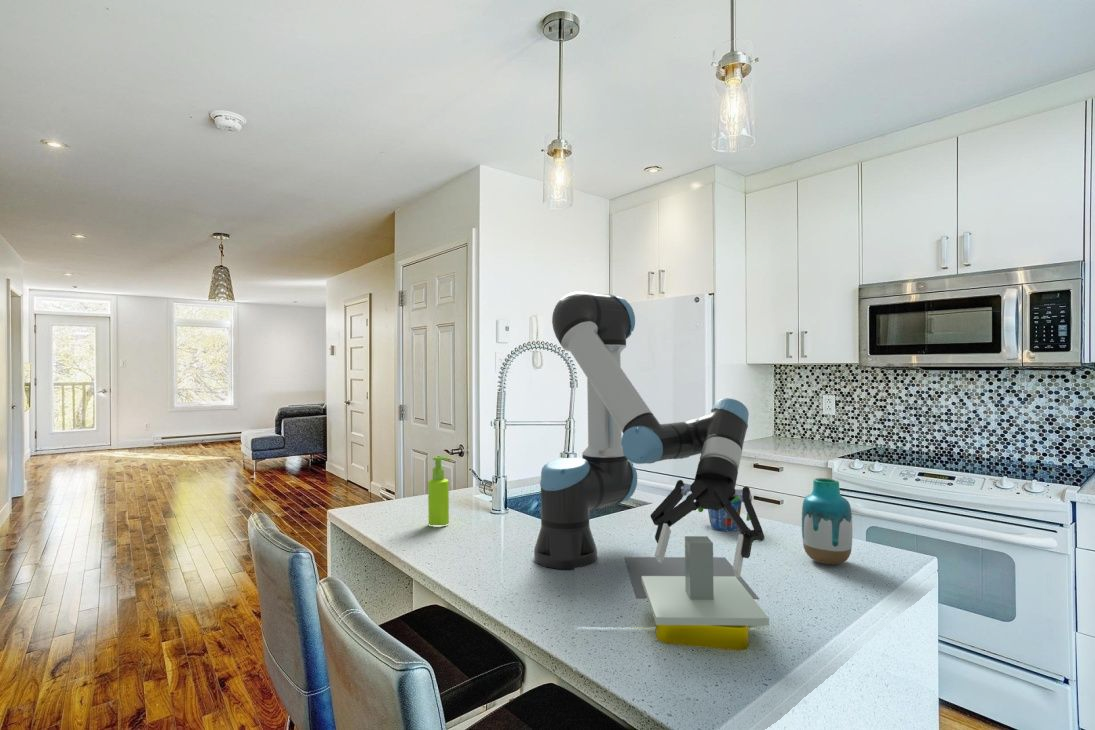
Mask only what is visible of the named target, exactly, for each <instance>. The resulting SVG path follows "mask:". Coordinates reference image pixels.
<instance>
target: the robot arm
mask: <svg viewBox="0 0 1095 730" xmlns="http://www.w3.org/2000/svg"><path fill="white" fill-rule="evenodd" d="M551 324H552V329H553V332H554V333H553V334H554V335H555V338H556V339H557V341H558V343H559V344H560V346H561V348H562V350H563V349H564V351H566V352H570V353H571V355H572V356H573V359H575V361H576V362H577V364H578V365H579V367H580V369H581V370H582V372H583V374H584V375H585V377H586V378H587V379H586V381H587V382H586V383H587V385H586V387H587V392H586V393H587V445H588V446H587V447H586V448H585V449H584V450H583V451H582V456H581V457H567V458H564V457H563V458H559V459H555V460H552V461H549V462H547V463H546V464H544V465H543V466H542V468H541V471H540V481H539V486H540V522H541V523H540V524H541V525H540V530H539V533H538V536H537V539H536V543H535V546H534V550H533V553H534V555H533V557H534V559H535V560H534V559H533V560H534V562H535V563H537V565H538V564H539V565H540V566H543V567H545V568H551V569H558V570H575V569H576V568H583V567H588V566H589V565H593V564H594V563H595V562H596V561H597V560H598V549H597V546H596V545H597V544H596V543H595V539H594V537H593V534H592V533H593V532H592V530H591V525H590V511H592V510H596V509H601V508H605V507H609V506H611V507H612V506H617V505H619V504H621V503H625V502H627V501H629V499H630V498H631V497H632V496H633V495H634V493H635V491H636V488H637V486H638V472H637V468H636V467H634V464H637V465H638V464H639V465H643V464H649V465H651V464H654V463H657V462H662V461H665V460H682V459H688V458H690V457H693V456H697V455H700V456H699V461H698V465H697V469H696V473H695V477H694V480H693V482H692V484H689V483H685V482H684V481H683V479H679V480H677V481H676V484H675V486H674V488H673V490H672V491H671V492H670V493H669V494H668V495H667V496H666V497H665V498H664V500H662V502H661V503H660V504H659V505H658V506H657V507H656V508H655V509H654V510H653V512H652V513H651V514H650V519H651V521H652V523H653V525H655V526H657V527H656V528H657V529H656V532H655V535H654V538H655V539H654V540H655V541H656V543H657V546H656V549H655V553H654V557H656V559H657V561H658V562H659V563H663V560H664V557H666V553H667V549H668V544H669V541H670V537H671V533H672V531H671V530H672V529H670V527H672V526H673V525H674V524H676V523H678V522H679V521H680V520H681V519H683V518H684V517H686V516H687V515H688V514H690V513H691V512H692V511H694V512H695V511H698V508H699V507H702V509H703V510H708V509H712V510H716V511H719V510H720V509H724V510H725V512H726V513H727V515H729V517H730V518H731V520H732V521H733V522H734V524H735V525H736V527H737V528H738V529H737V530H738V531H739V532H740V533H739V534H738V537H737V542H736V547H735V553H734V558H733V564H732V566H733V572H734V574H735V577H739V578H740V576H741V574H742V568H743V562H744V559H749V558H750V557H751V551H752V545H753V543H754V542H755V541H760V542H763V541H764V540H765V535H764V531H763V528H762V526H761V523H760V521H759V517H758V515H757V514H756V511H755V508H754V506H753V503H752V493H751V490H750V487H748V486H743V487H742V489H736V485H737V480H738V473H739V468H740V463H741V459H742V454H743V449H744V448H743V446H744V444H745V438H746V435H747V431H748V428H749V427H748V426H749V424H748V423H749V414H750V413H749V410H748V408H747V406H746V405H745V404H743V403H742V402H741V401H740V400H737V399H736V398H735V399H734V398H728V397H725V398H721V399H718V400H717V401H715V403H714V404H713V405H712V408H711V410H710V413H708V414H706V415H702V416H699V417H696V418H693V419H689V420H686V421H685V420H684V421H680V422H671V423H660V422H659V420H658V419H657V417H656V416H655V415H654V413H653V412H652V411H651V409H650V407H649V406H648V405H647V403H646V402H645V400H644V399H643V398H642V396H641V395H640V394H639V392H638V391H637V389H636V387H635V386H634V385H633V383H632V382H631V380H630V379H629V377H628V376H627V374H626V373H625V372H624V370H623V369H622V367H621V354H622V352H623V351H624V349H626V347H627V339H629V338H630V337H631V335H633V334H632V332H634V330H635V327H636V316H635V312H634V309H633V307H632V305H631V304H630V303H629V302H628V301H627V300H626V299H624V298H623V297H621V296H616V295H613V294H605V293H594V292H585V291H574V292H573V291H572V292H570V293H567V294H566V295H564V296H563V297H562V298H560V300H558V302H557V303H556V305H555V306H554V309H553V312H552V317H551ZM690 492H691V493H690ZM688 493H690V494H688ZM687 494H688V495H687ZM685 496H686V498H685V499H684V500H683V497H685ZM735 497H738V498H739V500H740V501H741V502H742V503H743V504H744V508H745V510H746V513H748V516H749V518H750V520H749V521H750V523H751V527H752V528H753V529H751V528H750V527H748V524H746V522H745V521H744V520H743V518H742V517H741V515H740V516H739V514H738V513H737V511H736V510H735V509H734V507H733V506H732V504H731V503H730V502H731V501H732V500H733V499H735ZM682 500H683V501H682ZM680 501H681V502H680Z"/></svg>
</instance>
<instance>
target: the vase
mask: <svg viewBox="0 0 1095 730" xmlns="http://www.w3.org/2000/svg"><path fill="white" fill-rule="evenodd" d="M812 483H813V484H812V492H811V493H810V494H807V495H806V496H805V497H804V499H803V502H802V506H801V535H802V543H803V544H802V546H803V549H804V551H805V554H806V555H807V556H808V558H810V559H811V560H813V561H816V562H818V563H820V564H825V565H839V564H843V563H845V562H846V561H848V560H849V558H850V555H851V554H852V549H853V548H852V547H853V514H852V513H853V512H852V507H851V505H850V502H849V501H848V500H847V499H846V498H845V497H844V496H842V495H841V492H840V491H841V490H840V489H841V488H840V481H839V480H837V479H834V478H833V479H832V478H826V477H817V478H814V479H813V482H812Z"/></svg>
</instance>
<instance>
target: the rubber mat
mask: <svg viewBox="0 0 1095 730" xmlns="http://www.w3.org/2000/svg"><path fill="white" fill-rule="evenodd" d="M623 559H624V563H625V565H626V566H625V567H626V569H627V571H628V572H627V573H628V575H629V580H630V583H631V586H632V588H633V589H632V590H633V593H634V596H635V598H636V599H647V597H646V594H645V591H644V588H643V585H642V582H641V576H685V556H683V557H682V556H669V557H668V556H664V560H663V563H659V562H658V561H657V559H656V557H655V556H651V557H650V556H639V557H638V556H624V557H623ZM713 576H735V574H734V572H733V564H731V563H730V561H729V560H728V559H727V558H726V556H725V557H723V556H721V557H718V556H713ZM736 578H737V579H738V580H739V582H740V583H741V584H742V585H743V587H744V588H745V589H746V590H747V592H748V593H749V594H750V595H751V596H752V598H753V599H754V600H760V598H759V597H758V595H757V594H756V593H755V591H754V590H753V589H752V588H751V586H749V584H748V583H747V582H746V581H745V580H744V578H743V577H742V576H741V575H740V578H739V577H736Z"/></svg>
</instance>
